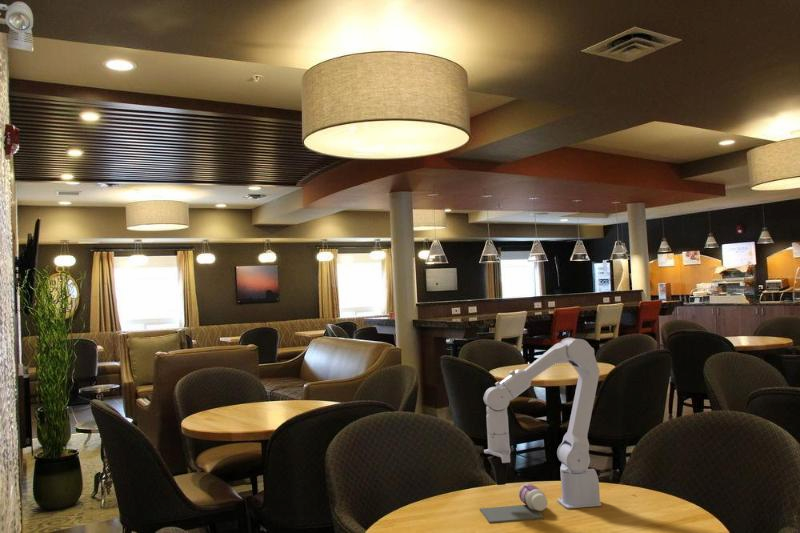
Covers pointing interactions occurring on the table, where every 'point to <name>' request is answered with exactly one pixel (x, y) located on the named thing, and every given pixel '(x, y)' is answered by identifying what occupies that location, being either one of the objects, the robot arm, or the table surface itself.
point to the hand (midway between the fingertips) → (500, 484)
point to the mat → (510, 513)
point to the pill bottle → (532, 497)
